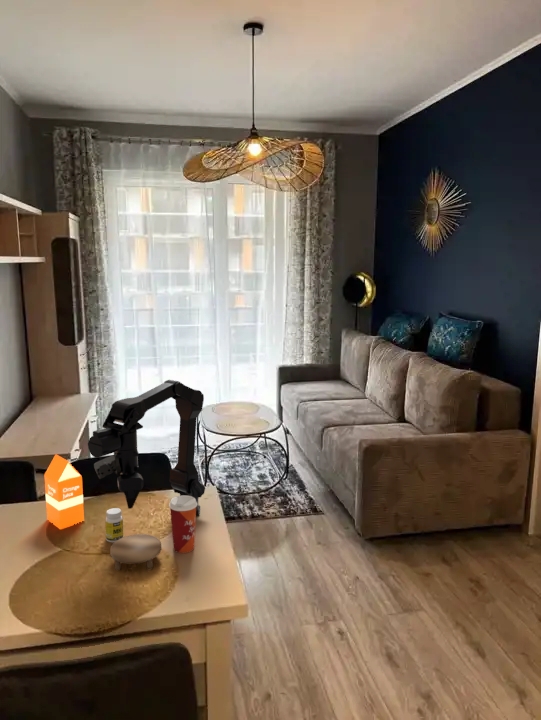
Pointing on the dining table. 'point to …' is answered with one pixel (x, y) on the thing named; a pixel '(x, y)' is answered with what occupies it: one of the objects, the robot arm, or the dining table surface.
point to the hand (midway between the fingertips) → (128, 501)
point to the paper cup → (183, 522)
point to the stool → (135, 550)
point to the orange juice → (63, 494)
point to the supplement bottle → (114, 525)
